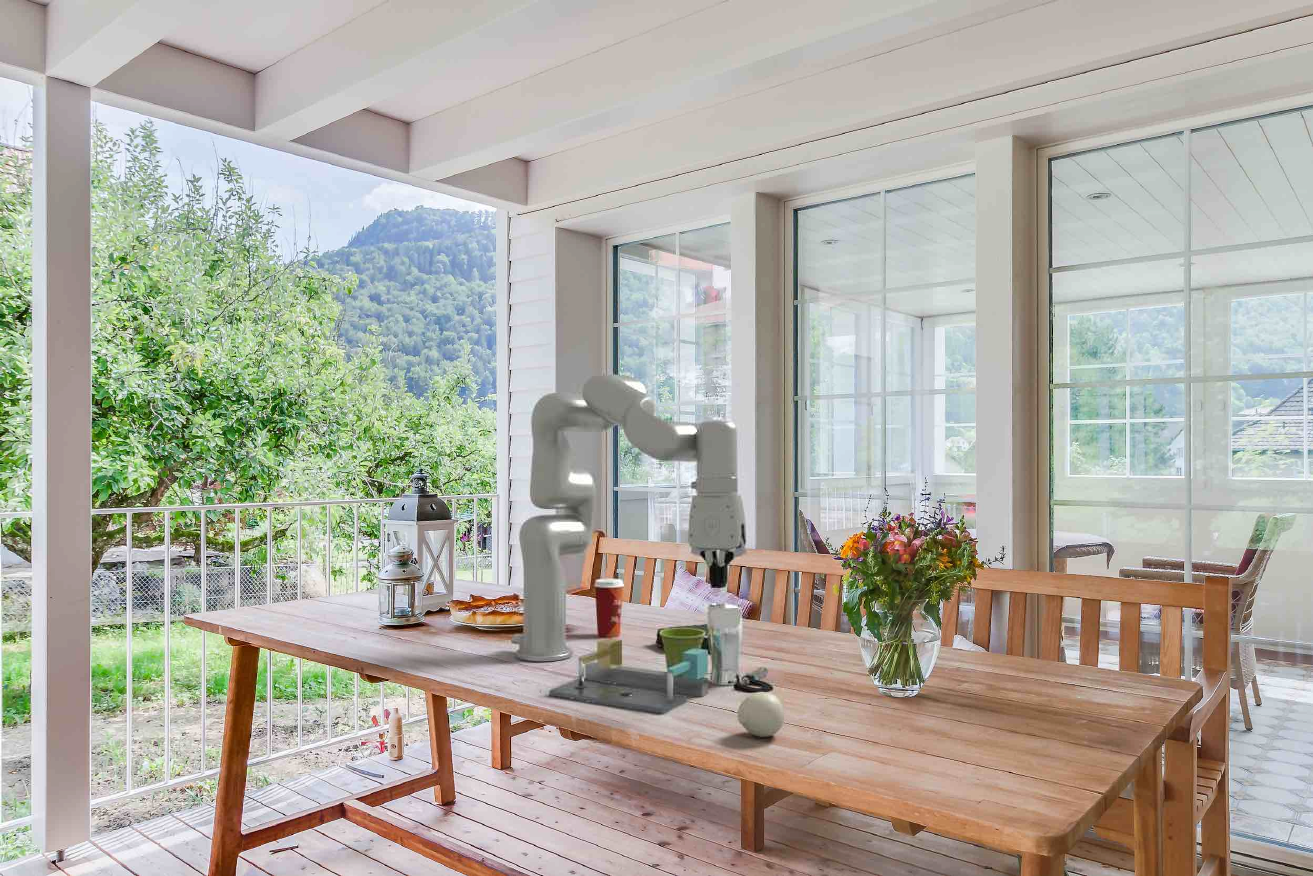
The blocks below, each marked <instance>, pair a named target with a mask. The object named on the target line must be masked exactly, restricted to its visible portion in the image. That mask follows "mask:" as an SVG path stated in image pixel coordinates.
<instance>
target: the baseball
mask: <svg viewBox="0 0 1313 876" xmlns="http://www.w3.org/2000/svg"><path fill="white" fill-rule="evenodd" d="M784 711H785V710H784V707H783V704H782V702H781V701H780V700H779V698H778V696H776V695H774V694H773V693H769V692H756V693H751V694H750V695H747V696H746V697H745V699H744V700H742V702H741V703H740V705H739V707H738V709H737V721H738V722H739V724H740V725H741V726H742V727H743V728H744V729H745V730H746V731H747V732H748V733H749V734H751V735H753V736H755V737H760V738H767V737H771V736H774V735H776V734H777V733H778V732H779V731H780V730H781V729H782V727H783V724H784V721H785V712H784Z"/></svg>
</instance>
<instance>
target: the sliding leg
mask: <svg viewBox="0 0 1313 876" xmlns="http://www.w3.org/2000/svg"><path fill="white" fill-rule="evenodd" d="M708 658H709V654H708V650H703V649H694V648H693V649H691V650H688V651H686V652H684V653H683V662H682V663H680V664H678V665H675V666H673V667H671V668H668V669H667V668H666V672H667V692H666V693H667V699H668V700H672V699H673V694H674V693H673V676H676V675H678V674H680V673H682V672H683V678H689V679H696V680H698V679H700V678H702V677H706V676H708V675H709V665H708V663H709V659H708Z"/></svg>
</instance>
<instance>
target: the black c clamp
mask: <svg viewBox="0 0 1313 876" xmlns="http://www.w3.org/2000/svg"><path fill="white" fill-rule="evenodd" d="M768 671H769V670H768V668H767V667H758V668H756V669H755V670H752V671H751V672H746V673H745V675H744V676H742V677H741V678H740V682H738V683H736V684H734V685H733V688H734V690H738V689H739V690H741V691H743V692H745V693H746V692H747V693H749V692H755V693H756V692H766V693H769V692H772V691H773V690H774V687H773V685H772V684H770V683H768V682H765V681H763V680H762V679H763V678H765V677H766V676H767V674H768ZM762 677H763V678H762ZM746 684H749V685H746ZM750 684H751V685H752V686H751V685H750ZM753 685H754V686H756V687H753ZM760 686H762V687H760Z"/></svg>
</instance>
